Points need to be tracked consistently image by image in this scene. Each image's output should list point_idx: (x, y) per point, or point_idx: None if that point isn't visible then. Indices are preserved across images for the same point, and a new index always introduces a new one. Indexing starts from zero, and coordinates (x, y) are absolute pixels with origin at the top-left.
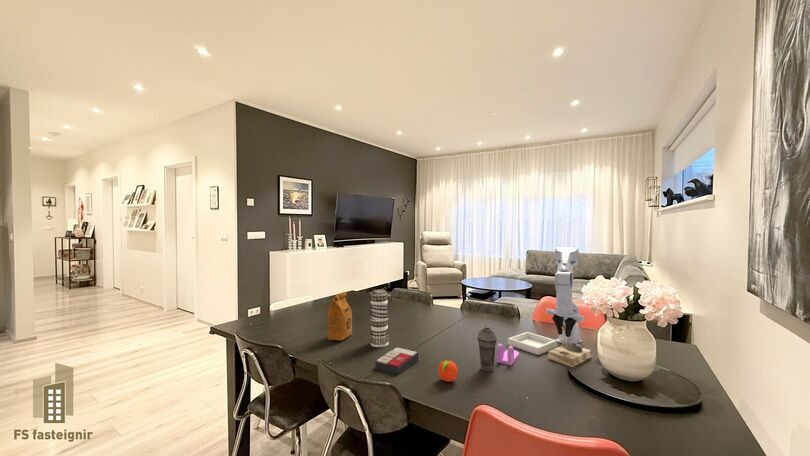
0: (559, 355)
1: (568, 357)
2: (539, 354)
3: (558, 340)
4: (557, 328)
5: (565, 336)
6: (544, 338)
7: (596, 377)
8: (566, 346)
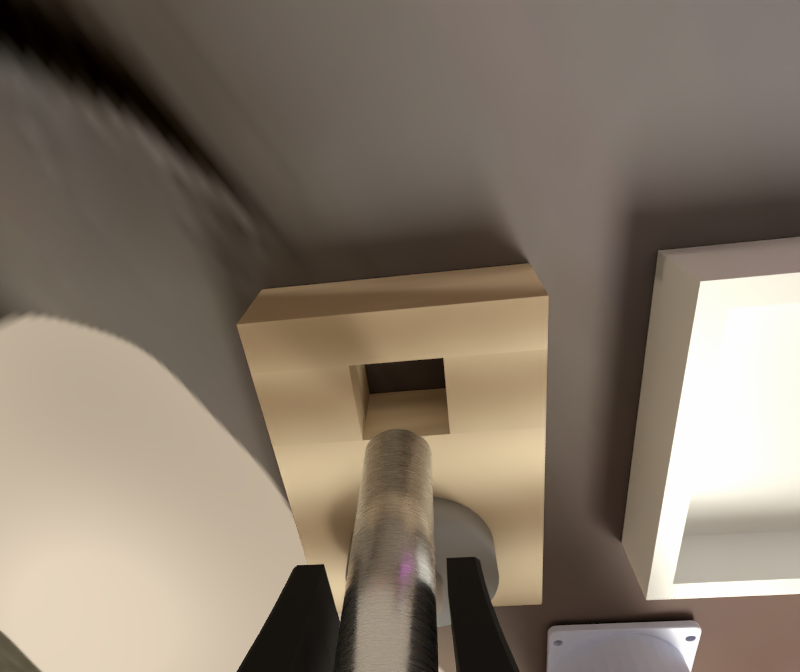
0: (396, 308)
1: (297, 333)
2: (655, 278)
3: (673, 637)
4: (500, 669)
5: (353, 566)
6: (776, 570)
7: (16, 272)
8: (365, 455)
